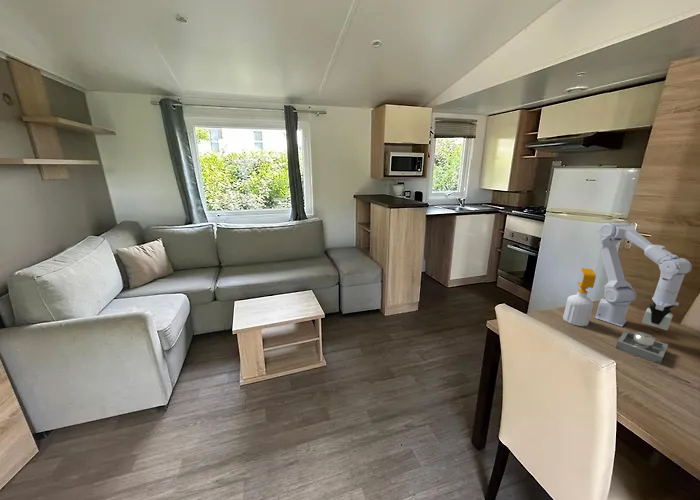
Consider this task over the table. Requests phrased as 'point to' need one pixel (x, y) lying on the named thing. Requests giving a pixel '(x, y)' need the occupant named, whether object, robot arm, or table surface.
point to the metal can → (643, 340)
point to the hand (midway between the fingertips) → (656, 321)
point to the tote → (653, 355)
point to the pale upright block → (662, 325)
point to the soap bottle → (580, 301)
